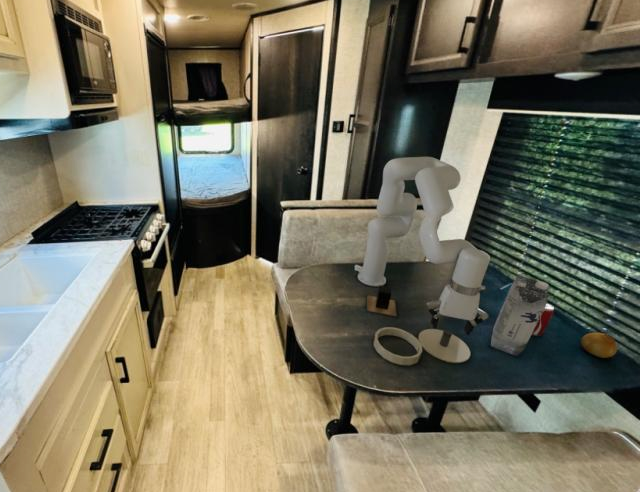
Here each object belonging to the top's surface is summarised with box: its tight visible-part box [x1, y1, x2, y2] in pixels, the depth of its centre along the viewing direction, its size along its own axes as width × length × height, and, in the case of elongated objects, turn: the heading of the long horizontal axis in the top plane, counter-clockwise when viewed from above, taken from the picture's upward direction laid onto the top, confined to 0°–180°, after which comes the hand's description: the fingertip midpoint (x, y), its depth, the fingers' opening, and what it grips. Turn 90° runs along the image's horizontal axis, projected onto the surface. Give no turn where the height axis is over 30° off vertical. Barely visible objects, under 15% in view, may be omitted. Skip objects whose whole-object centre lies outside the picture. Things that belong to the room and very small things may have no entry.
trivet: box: [366, 294, 397, 317], centre depth 130 cm, size 11×11×1 cm
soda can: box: [531, 302, 555, 337], centre depth 113 cm, size 5×5×12 cm
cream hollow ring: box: [373, 326, 423, 366], centre depth 108 cm, size 15×15×4 cm
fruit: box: [581, 332, 618, 359], centre depth 105 cm, size 8×8×8 cm
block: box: [375, 285, 392, 310], centre depth 128 cm, size 5×5×8 cm
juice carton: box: [490, 274, 550, 357], centre depth 104 cm, size 9×10×27 cm
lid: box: [417, 328, 471, 364], centre depth 108 cm, size 16×16×7 cm
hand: (450, 329), depth 106 cm, fingers open, 9 cm apart
